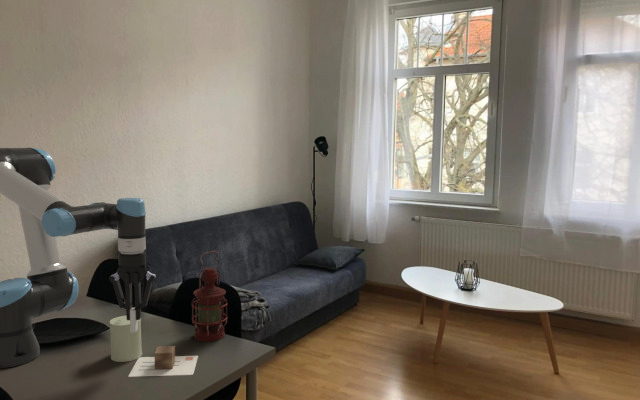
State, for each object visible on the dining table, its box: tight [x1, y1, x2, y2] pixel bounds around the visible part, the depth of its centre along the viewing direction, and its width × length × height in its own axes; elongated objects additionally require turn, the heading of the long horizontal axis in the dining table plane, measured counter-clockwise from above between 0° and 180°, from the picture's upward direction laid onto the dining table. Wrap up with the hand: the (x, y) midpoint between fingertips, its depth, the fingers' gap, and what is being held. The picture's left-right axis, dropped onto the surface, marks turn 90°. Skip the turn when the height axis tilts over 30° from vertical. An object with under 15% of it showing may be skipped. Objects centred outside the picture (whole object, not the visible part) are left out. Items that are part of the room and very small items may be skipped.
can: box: [109, 315, 143, 363], centre depth 155 cm, size 9×9×12 cm
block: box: [154, 345, 176, 370], centre depth 149 cm, size 5×5×5 cm
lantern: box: [191, 250, 229, 343], centre depth 172 cm, size 12×12×30 cm
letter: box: [128, 355, 199, 378], centre depth 149 cm, size 18×13×1 cm
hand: (134, 330), depth 147 cm, fingers closed
